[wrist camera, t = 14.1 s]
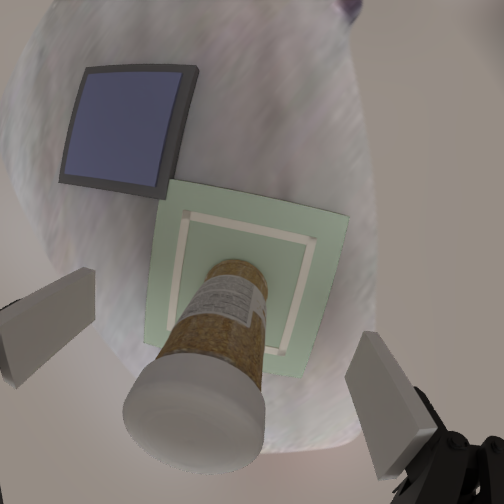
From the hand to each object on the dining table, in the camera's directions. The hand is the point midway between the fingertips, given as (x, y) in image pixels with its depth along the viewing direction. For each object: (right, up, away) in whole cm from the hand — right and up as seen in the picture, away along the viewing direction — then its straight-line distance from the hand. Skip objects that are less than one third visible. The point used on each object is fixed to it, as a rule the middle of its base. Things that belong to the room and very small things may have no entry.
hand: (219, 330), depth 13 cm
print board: (0, +1, +8) cm, 8 cm away
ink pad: (-8, +13, +6) cm, 17 cm away
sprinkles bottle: (0, +1, +8) cm, 8 cm away
